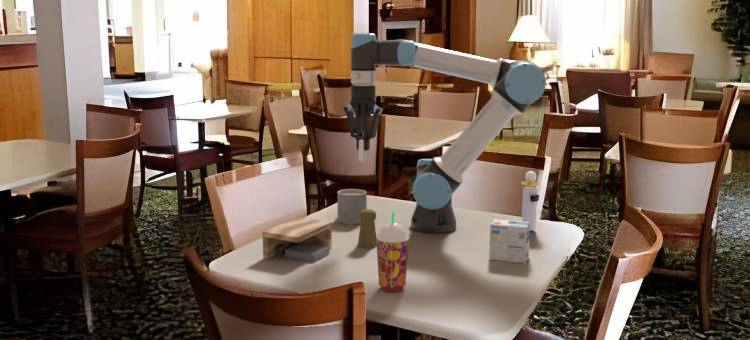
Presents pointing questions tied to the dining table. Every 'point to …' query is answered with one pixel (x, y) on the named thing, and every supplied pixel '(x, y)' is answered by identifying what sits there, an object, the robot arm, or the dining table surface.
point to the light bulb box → (509, 241)
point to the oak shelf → (295, 236)
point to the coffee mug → (351, 205)
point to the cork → (367, 229)
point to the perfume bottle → (530, 199)
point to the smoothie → (392, 256)
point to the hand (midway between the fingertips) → (362, 160)
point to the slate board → (307, 252)
